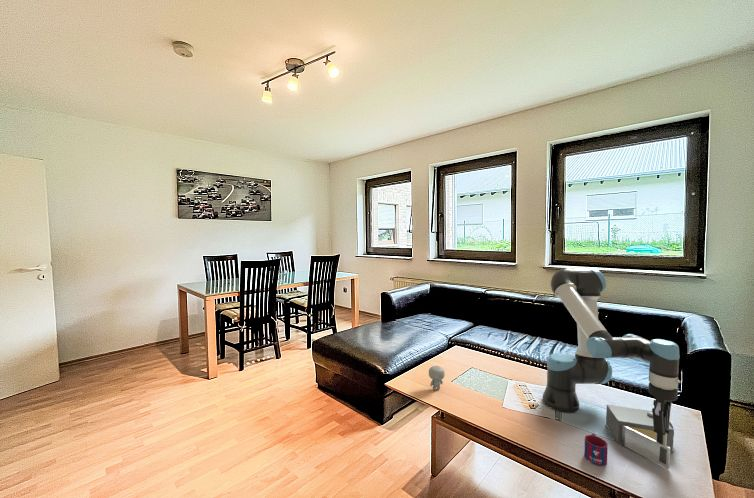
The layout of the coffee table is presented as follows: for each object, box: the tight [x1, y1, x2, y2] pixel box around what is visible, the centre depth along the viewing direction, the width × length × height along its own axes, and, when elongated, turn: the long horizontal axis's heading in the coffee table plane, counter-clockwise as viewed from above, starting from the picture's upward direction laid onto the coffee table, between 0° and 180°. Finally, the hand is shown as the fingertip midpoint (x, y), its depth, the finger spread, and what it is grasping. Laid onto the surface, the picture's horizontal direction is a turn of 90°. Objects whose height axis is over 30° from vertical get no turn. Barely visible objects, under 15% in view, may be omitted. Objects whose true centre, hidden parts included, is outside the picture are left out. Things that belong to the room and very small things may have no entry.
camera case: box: [605, 404, 675, 454], centre depth 122 cm, size 19×12×10 cm, turn 71°
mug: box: [583, 433, 609, 467], centre depth 113 cm, size 7×10×7 cm
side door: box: [621, 425, 671, 470], centre depth 112 cm, size 14×2×8 cm, turn 25°
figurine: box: [428, 365, 446, 391], centre depth 161 cm, size 8×8×12 cm
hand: (660, 449), depth 109 cm, fingers closed
